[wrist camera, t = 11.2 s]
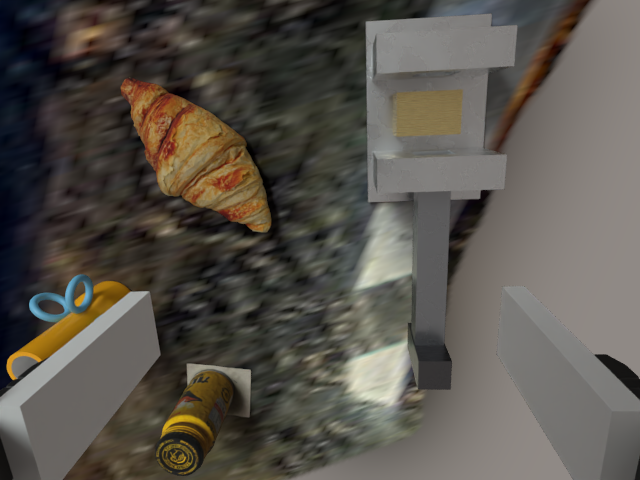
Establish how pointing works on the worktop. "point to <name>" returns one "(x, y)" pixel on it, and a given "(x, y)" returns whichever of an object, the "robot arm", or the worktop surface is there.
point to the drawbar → (430, 290)
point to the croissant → (197, 155)
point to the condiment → (202, 416)
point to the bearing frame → (433, 75)
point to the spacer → (427, 113)
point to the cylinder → (65, 320)
